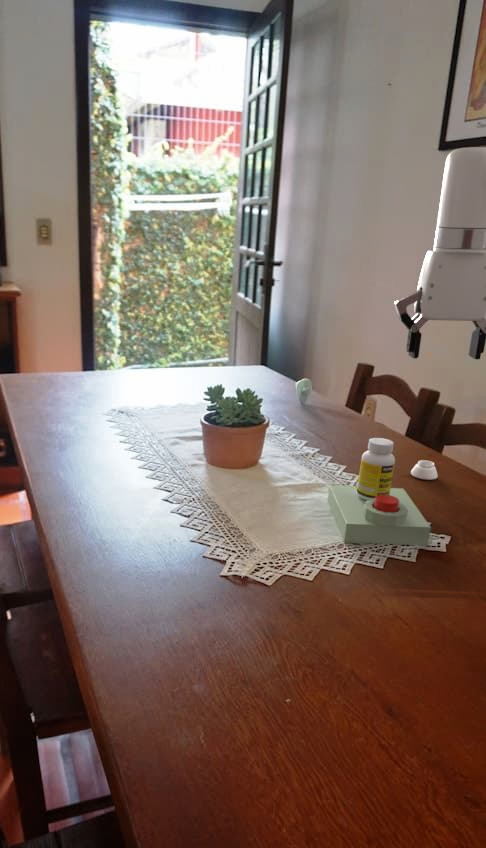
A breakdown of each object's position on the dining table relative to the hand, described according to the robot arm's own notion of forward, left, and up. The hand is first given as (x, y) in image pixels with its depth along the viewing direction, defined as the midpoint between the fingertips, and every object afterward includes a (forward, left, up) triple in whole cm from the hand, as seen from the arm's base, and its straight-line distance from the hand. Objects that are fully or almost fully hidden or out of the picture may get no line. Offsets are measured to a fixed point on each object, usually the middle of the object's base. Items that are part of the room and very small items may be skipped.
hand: (443, 357), depth 108 cm
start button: (+8, +10, -22) cm, 26 cm away
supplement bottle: (+8, +2, -24) cm, 25 cm away
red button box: (+8, +5, -27) cm, 28 cm away
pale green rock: (+10, -71, -27) cm, 76 cm away
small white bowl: (-7, -18, -27) cm, 33 cm away
